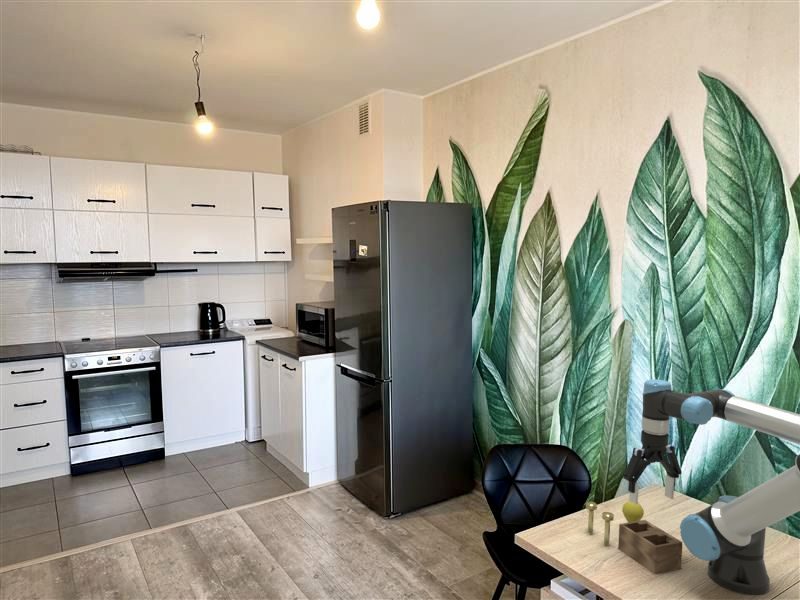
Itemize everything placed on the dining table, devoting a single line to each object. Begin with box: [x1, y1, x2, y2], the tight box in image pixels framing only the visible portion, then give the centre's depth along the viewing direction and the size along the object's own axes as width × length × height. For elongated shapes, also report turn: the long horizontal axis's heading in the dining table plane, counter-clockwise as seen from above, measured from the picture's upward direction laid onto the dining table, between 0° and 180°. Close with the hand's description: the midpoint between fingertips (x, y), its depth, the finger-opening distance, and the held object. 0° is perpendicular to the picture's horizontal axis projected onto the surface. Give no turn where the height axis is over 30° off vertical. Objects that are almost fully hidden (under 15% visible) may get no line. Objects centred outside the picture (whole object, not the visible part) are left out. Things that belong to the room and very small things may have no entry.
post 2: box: [601, 511, 615, 547], centre depth 177 cm, size 3×3×10 cm
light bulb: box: [621, 500, 645, 523], centre depth 187 cm, size 7×7×10 cm
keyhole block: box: [617, 519, 684, 575], centre depth 170 cm, size 15×10×8 cm, turn 19°
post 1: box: [585, 501, 598, 535], centre depth 185 cm, size 3×3×10 cm
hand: (651, 499), depth 169 cm, fingers open, 13 cm apart
